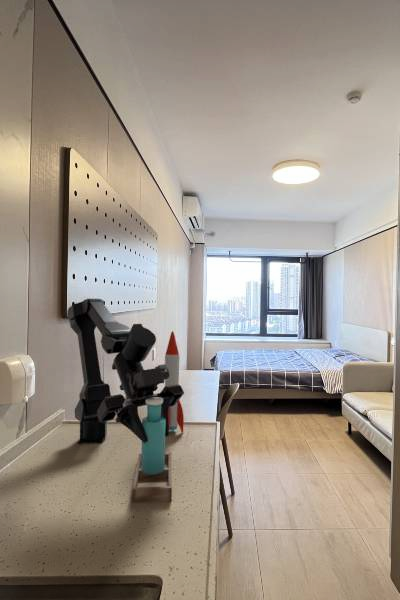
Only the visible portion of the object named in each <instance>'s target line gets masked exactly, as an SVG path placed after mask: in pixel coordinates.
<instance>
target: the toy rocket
mask: <svg viewBox="0 0 400 600" xmlns="http://www.w3.org/2000/svg"><path fill="white" fill-rule="evenodd" d="M164 364H165V365H166V367H167V369H168V371H169V375H170V376H169V378H168V379H166V380H164V387H165V386H169V385H175V384H178V385H180V383H179V380H180V379H179V378H180V377H179V376H180V353H179V349H178V345H177V341H176V336H175V333H174V331H173V330H172V331H171V333H170V336H169V340H168V343H167V346H166V351H165V355H164ZM183 409H184V408H183V407H182V404H181V401H180V399H179V400H178V402H177V403H176V404H175V405H174V406H172V407H169V408H168V421H169V431H174V430H176V429H177V428H178V426H179V429H180V431H181V433H182V434H183V433H184V423H185V421H184V410H183ZM169 435H170V434H169ZM169 435H168V436H167V437H169Z"/></svg>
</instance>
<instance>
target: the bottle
mask: <svg viewBox="0 0 400 600" xmlns="http://www.w3.org/2000/svg"><path fill="white" fill-rule="evenodd" d="M145 403H146V404H147V405H146V408H147V409H146V416H145V417H143V418H142V420H141V423H142V425H143V428H144V430H145V433H146V436H147V442H146V443H143V442H142V441H141V453H140V454H141V471H142V472H143V473H146V474H158V473H161V472H162V471H163V470H164V469H165V453H166V436H165V426H166V419H165V418H163V417H161V404H162V403H163V399H162V398H159V397H150V398H147V399H146V401H145Z"/></svg>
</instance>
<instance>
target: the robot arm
mask: <svg viewBox="0 0 400 600" xmlns="http://www.w3.org/2000/svg"><path fill="white" fill-rule="evenodd" d="M66 312H67V313H66V314H67V315H66V317H67V320H68V321H69V325H70V328H71V329H72V331H73V332H74V333H75V334H76V335H77V340H78V349H79V356H80V363H81V364H80V365H81V371H82V378H83V386H82V388H81V390H80V392H79V400H78V402H77V403H76V406H75V408H74V410H73V411H74V418H75V419H76V420H78V422H79V439H78V440H77V444H79V445H80V444H102V443H103V442H104V440H105V439H106V438H107V435H108V422H110V421H113V420H114V419H115V417H116V419H115V420H114V421H115V422H116V423H117V424H118V423H121V424H122V425H123V426H124V427H126V428H127V429H128V430H129V431H131V432H132V433H133V434H134V435H135V436H136V437H137V438H138V439H139V440H140V441H141V443H142V442H143V443H146V442H147V436H146V433H145V430H144V428H143V425H142V420H141V417H140V416H139V410H138V409H139V407H144V406H147V404H146V403H145V401H146V399H147V398H150V397H159V398H162V399H163V403H162V404H161V417H163V418H165V419H166V426H165V438H166V437H169V436H168V435H170V430H169V421H168V408H169V407H172V406H174V405H175V404H176V403H177V402H178V400H179V401H180V399H181V398H182V397H183V395H185V392H184V390H183V386H181V385H180V384H179V385H178V384H175V385H169V386H165V385H164V387H163V388H162V389H161V391H160V392H158V393H154V392H156V391H157V390H158V389H159V388H158V385H160V384H165V380H166V379H168V378H169V376H170V375H169V371H168V369H167V367H166V365H165V363H164V364H159V365H157V366H155V367H154V368H148V369H147V368H146V369H144V367H143V364H142V362H143V361H145V360H146V359H147V357H148V355H149V354H150V352H151V350H152V349H153V347H154V346H155V343H156V341H157V336H156V334H155V333H153V331H151V330H150V329H148V328H147V327H144V326H143V324H142V323H133V324H132V326H131V328H130V327H129V326H127V324H122V323H120V322H119V321H118V320H117V319H116V318H115V317H114V316H113V314H112V313H111V311H109V309H108V308H107V306H106V305H105V301H104V299H100V298H86V299H83V300H82V301H80V302H77V303H74V304H72V305H71V306H69V307H68V309H67V311H66ZM96 328H97V329H98V330H99V333H100V334H101V339H100V343H101V347H102V349H103V351H104V352H105V353H106V355H111V354H112V355H113V354H116V355H115V357H114V359H113V362H112V365H111V369H112V370H113V371H114V370H116V372H117V375H118V378H119V382H120V385H119V390H120V391H123V393H124V395H125V397H124V395H123V394H120V393H119V394H115V395H111V387H110V385H109V383H105V381H103V379H102V375H101V367H100V361H99V355H98V348H97V340H96V335H95V330H96Z"/></svg>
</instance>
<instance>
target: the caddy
mask: <svg viewBox="0 0 400 600" xmlns="http://www.w3.org/2000/svg"><path fill="white" fill-rule="evenodd" d="M135 468H136V469H135V474H134V479H133V484H132V490H131V491H132V493H131V494H132V496H131V498H132V499H131V503H132V504H133V503H134V504H135V503H157V502H158V503H160V502H161V503H162V502H172V501H173V499H172V493H173V483H172V479H173V478H172V477H173V476H172V475H173V474H172V452H165V469H164V470H163V471H162V472H161V473H158V474H146V473H143V472H142V471H141V453H139V454H138V458H137V464H136V467H135Z"/></svg>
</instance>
